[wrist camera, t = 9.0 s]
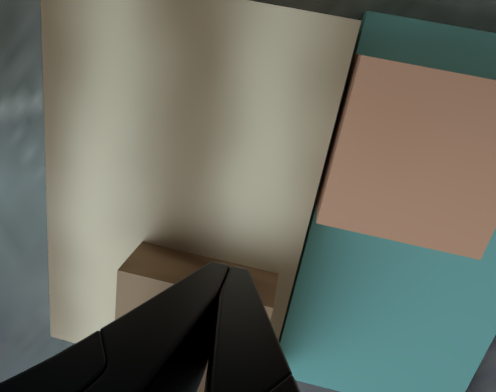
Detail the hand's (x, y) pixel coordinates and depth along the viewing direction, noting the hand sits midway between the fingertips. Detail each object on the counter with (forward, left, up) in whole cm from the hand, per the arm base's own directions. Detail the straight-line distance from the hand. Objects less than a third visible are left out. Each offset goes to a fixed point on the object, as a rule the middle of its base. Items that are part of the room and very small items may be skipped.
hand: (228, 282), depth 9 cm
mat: (+7, -3, -11) cm, 14 cm away
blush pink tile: (+6, +2, -10) cm, 12 cm away
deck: (-4, -3, -11) cm, 12 cm away
